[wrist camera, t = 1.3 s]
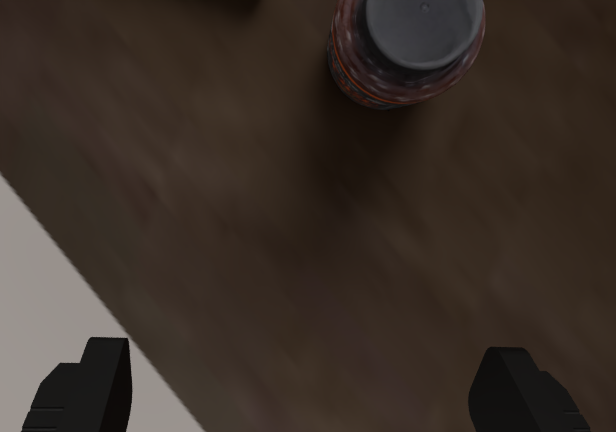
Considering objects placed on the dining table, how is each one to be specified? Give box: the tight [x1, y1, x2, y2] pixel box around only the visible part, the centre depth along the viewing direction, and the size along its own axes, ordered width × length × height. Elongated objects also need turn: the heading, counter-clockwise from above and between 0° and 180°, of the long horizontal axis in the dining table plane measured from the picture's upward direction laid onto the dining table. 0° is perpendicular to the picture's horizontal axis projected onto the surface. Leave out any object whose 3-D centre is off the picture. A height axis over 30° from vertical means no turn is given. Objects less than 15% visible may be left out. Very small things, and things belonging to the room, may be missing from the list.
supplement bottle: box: [327, 0, 485, 111], centre depth 23 cm, size 6×6×11 cm
